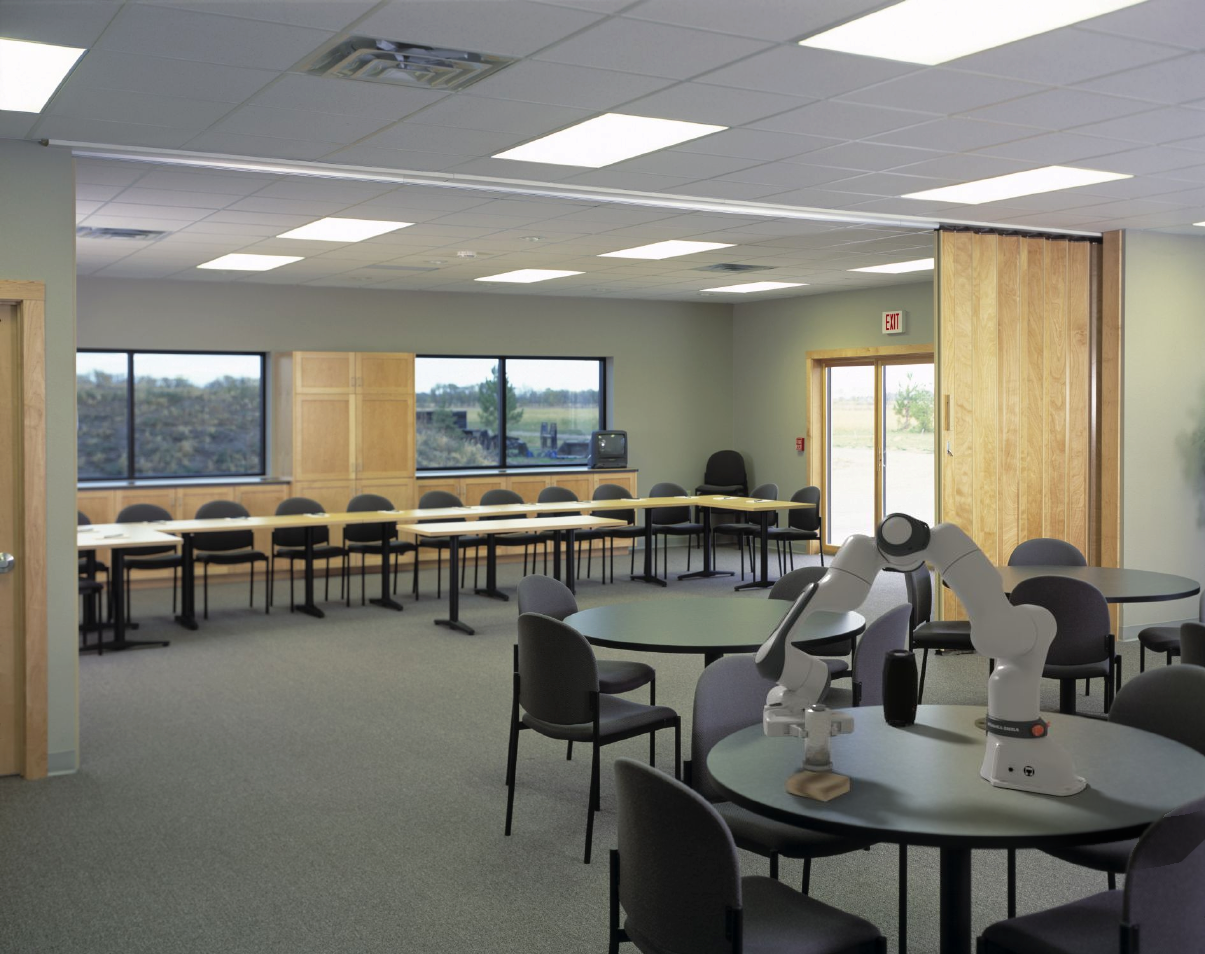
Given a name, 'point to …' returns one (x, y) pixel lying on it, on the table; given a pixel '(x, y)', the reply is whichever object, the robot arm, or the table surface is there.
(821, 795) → the stand
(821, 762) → the cylinder
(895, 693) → the portable speaker
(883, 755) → the table surface
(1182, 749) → the table surface
